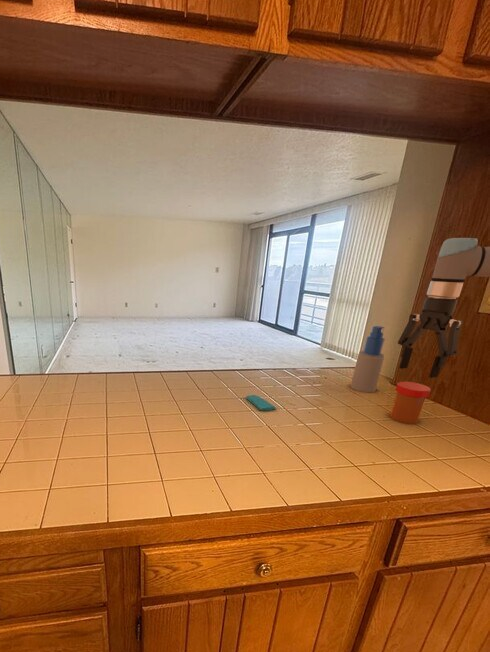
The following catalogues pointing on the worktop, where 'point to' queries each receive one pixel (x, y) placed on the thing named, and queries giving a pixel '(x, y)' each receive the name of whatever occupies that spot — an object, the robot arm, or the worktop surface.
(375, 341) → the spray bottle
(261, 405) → the sponge
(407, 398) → the jar
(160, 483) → the worktop surface
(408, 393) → the lid
